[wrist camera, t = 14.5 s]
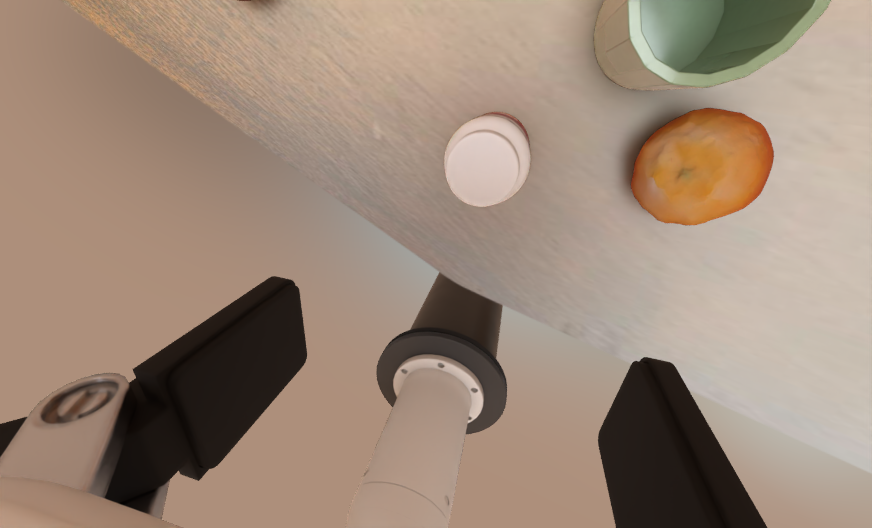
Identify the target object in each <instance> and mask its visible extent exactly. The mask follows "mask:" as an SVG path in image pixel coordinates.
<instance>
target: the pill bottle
mask: <svg viewBox="0 0 872 528" xmlns="http://www.w3.org/2000/svg"><path fill="white" fill-rule="evenodd" d="M530 162H531V154H530V144H529V138H528V134H527V132H526V130H525V128H524V126H523V125H522V124H521V123H520V122H519V121H518V120H517V119H516V118H515V117H513V116H511V115H509V114H506V113H502V112H491V113H487V114H484V115H482V116H479V117H477V118H474V119H472V120H470V121H468V122H466V123H465V124H463V125H462V126H461V127H460V128H459V129H458V130H457V131H456V132H455V133H454V134H453V136H452V137H451V139H450V141H449V143H448V145H447V148H446V151H445V156H444V168H445V174H446V178H447V182H448V185H449V187H450V189H451V190H452V192H453V193H454V194H455V195H456V196H457V197H458V198H459V199H460V200H461V201H463V202H465V203H467V204H469V205H472V206H478V207H485V206H491V205H494V204H498V203H501V202H504V201H505V200H507V199H509V198H511V197H512V196H513V195H514V194H515V193H516V192H517V191H518V190H519V189H520V188H521V187H522V185H523V184H524V182H525V180H526V178H527V176H528V173H529V169H530Z"/></svg>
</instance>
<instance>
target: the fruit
mask: <svg viewBox="0 0 872 528" xmlns="http://www.w3.org/2000/svg"><path fill="white" fill-rule="evenodd" d="M773 157H774V151H773V147H772V143H771V140H770V137H769V135H768V133H767V131H766V129H765V127H764V126H763V125H762V124H761V123H759V122H757V121H755V120H753V119H751V118H749V117H748V116H746V115H745V114H742V113H738V112H731V111H726V110H721V109H714V108H704V109H700V110H693V111H690V112H688V113H687V114H685V115H682V116H680V117H678V118H676V119H674V120H672V121H671V122H669V123H668V124H666V125H665V126H663V127H662V128H660V129H658V130H657V131H656V132H655V133H654V134H653V135H651V136H650V137H649V139H648V140H647V141H646V143H645V144H644V145H643V147H642V149H641V151H640V153H639V155H638V157H637V159H636V161H635V164H634V173H633V177H632V181H631V189H632V192H633V194H634V197H635V198H636V199H637V200H638V202H639V203H640V205H641V206H642V207H643V208H644V209H645V210H647V211H648V212H649V213H650V214H651V215H653V216H654V217H655V218H656V219H657V220H659V221H661V222H664V223H677V224H682V225H697V224H701V223H705V222H707V221H710V220H713V219H716V218H719V217H722V216H726V215H729V214H731V213H734V212H736V211H739V210H741V209H743V208H745V207H746V206H747V205H749V204H750V203H751V202H752V201H753V200H755V199H756V198H757V197H758V196H759V194H760V193H761V192H762V190H763V188H764V185H765V183H766V181H767V179H768V176H769V174H770V171H771V168H772V164H773Z"/></svg>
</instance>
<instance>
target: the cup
mask: <svg viewBox="0 0 872 528" xmlns="http://www.w3.org/2000/svg"><path fill="white" fill-rule="evenodd" d="M830 1H831V0H604V2H603V4H602V7H601V9H600V11H599V14H598V17H597V21H596V25H595V31H594V49H595V55H596V58H597V61H598V64H599V66H600V68H601V69H602V71H603V72H604V74H605V75H606V76H607V77H608V78H609V79H610V80H612V81H613V82H614V83H616V84H618V85H620V86H622V87H625V88H628V89H634V90H648V91H650V90H670V89H689V88H707V87H711V86H714V85H718V84H722V83H725V82H729V81H732V80H736V79H740V78H743V77H746V76H748V75H750V74H751V73H753V72H755V71H756V70H758V69H759V68H761V67H762V66H764V65H766V64H767V63H769V62H770V61H772V60H774V59H775V58H777V57H778V56H780V55H782V54H783V53H785V52H786V51H787V50H788V49H790V48H791V47H792V46H793V45H794V43H795V42H796V41H797V40H798V39H799V38H800V37H801V36H802V35H803V34H804V33H805V32H806V31H807V30H808V29H809V28H810V26H811V25H812V24H813V23H814V22H815V21H816V20H817V19H818V18H819V17H820V16H821V15H822V14H823V13H824V11H825V10H826V9H827V7H828V5H829V3H830Z"/></svg>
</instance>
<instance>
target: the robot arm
mask: <svg viewBox="0 0 872 528" xmlns="http://www.w3.org/2000/svg"><path fill="white" fill-rule="evenodd" d="M306 359H307V349H306V341H305V334H304V326H303V317H302V309H301V301H300V293H299V288H298V287H297V286H295V283H294V282H293V281H292V280H289V279H285V278H280V277H275V276H274V277H270V278H268V279H267V280H266V281H264V282H262V283H261V284H259V285H258V286H256V287H255V288H253V289H252V290H251V291H249V292H247V293H246V294H244V295H243V296H242V297H240V298H239V299H237V300H236V301H234V302H233V303H231V304H230V305H228V306H227V307H225V308H224V309H222V310H221V311H219V312H218V313H216V314H215V315H213V316H212V317H210V318H209V319H207V320H206V321H204V322H203V323H201V324H200V325H198V326H197V327H195V328H194V329H192V330H191V331H189V332H188V333H186V334H185V335H183V336H182V337H181V338H179V339H177V340H176V341H174V342H173V343H171V344H170V345H168V346H167V347H165V348H164V349H162V350H161V351H159V352H158V353H156V354H155V355H153V356H152V357H150V358H149V359H147V360H146V361H144V362H143V363H141V364H140V365H138V366H137V367H135V368H134V369H133V371H134V374H135V376H136V379H134V380H133V381H131V382H130V383H129V382H128V381H127V379H126V377H125V376H122V375H120V374H116V373H103V374H96V375H91V376H88V377H84V378H81V379H78V380H76V381H74V382H71V383H69V384H66V385H64V386H63V387H61V388H59V389H57V390H56V391H54V392H52V393H51V394H49V395H48V396H47V397H45V398H44V399H43V400H41V401H40V402H39V403H38V404H37V406H36V407H35V408H34V409H33V410H32V411H31V413H30V414H29V416H28V417H24V418H21V419H17V420H13V421H10V422H6V423H2V424H0V528H182V527H179V526H177V525H174V524H172V523H169V522H167V521H164V520H162V515H163V510H164V505H165V501H166V496H167V491H168V487H169V482H170V479H171V478H172V477H173V475H175V474H176V473H177V471H178V470H179V472H180V474H182V475H185V476H188V477H190V478H193V479H195V480H198V481H199V480H200V479H201V478H202V477H203V475H204V474H205V473H206V472H207V471H208V470H209V469H211V468H214V467H216V466H217V465H218V464H219V463H220V462H221V461H222V460H223V459H224V458H225V456H226V455H227V454H228V453H229V452H230V450H231V449H232V448H233V447H234V446H235V445H236V444H237V442H238V441H239V440H240V439H241V438H242V437H243V435H244V434H245V433H246V432H247V431H248V429H249V428H250V427H251V426H252V425H253V424H254V423H255V421H256V420H257V419H258V418H259V417H260V416H261V414H262V413H263V412H264V411H265V410H266V409H267V407H268V406H269V405H270V404H271V403H272V401H273V400H274V399H275V398H276V397H277V396H278V395H279V393H280V392H281V391H282V390H283V389H284V387H285V386H286V385H287V384H288V383H289V382H290V381H291V379H292V378H293V377H294V376H295V375H296V374H297V372H298V371H299V370H300V369H301V368H302V366H303V365H304V363H305V361H306ZM393 387H394V391H395V394H396V396H397V399H396V402H395V404H394V406H393V409H392V411H391V413H390V416H389V418H388V420H387V422H386V425H385V427H384V429H383V432H382V434H381V436H380V438H379V441H378V443H377V445H376V447H375V450H374V452H373V454H372V457H371V459H370V461H369V464H368V466H367V468H366V470H365V473H364V475H363V478H362V480H361V482H360V484H359V486H358V489H357V491H356V493H355V496H354V498H353V501H352V503H351V505H350V508H349V511H348V516H347V521H346V528H448V525H449V520H450V515H451V509H452V504H453V498H454V493H455V488H456V483H457V477H458V472H459V466H460V461H461V456H462V451H463V445H464V440H465V435H466V429H467V424H468V423H469V422H472V421H473V420H474V419H476V418H477V417H478V415H479V414H480V413H481V410H482V408H483V402H484V392H483V388H482V385H481V384H480V382H479V380H478V379H477V377H476V376H475V375H474V374H473V373H472V372H471V371H470V370H469V369H468V368H467V367H465V366H464V365H462V364H461V363H459V362H457V361H455V360H453V359H450V358H447V357H444V356H440V355H433V354H422V355H417V356H414V357H411V358H409V359H407V360H406V361H404V362H403V363H402V364H401V365H400V366H399V368H398V370H397V372H396V373H395V376H394V380H393ZM598 444H599V450H600V454H601V459H602V464H603V468H604V473H605V478H606V482H607V487H608V491H609V496H610V501H611V506H612V510H613V515H614V520H615V524H616V528H767V526H766V524H765V523H764V521H763V519H762V518H761V516H760V514H759V512H758V511H757V509H756V507H755V505H754V504H753V502H752V500H751V498H750V497H749V495H748V493H747V492H746V490H745V488H744V486H743V484H742V483H741V481H740V479H739V477H738V476H737V474H736V472H735V470H734V469H733V467H732V465H731V463H730V462H729V460H728V458H727V457H726V455H725V453H724V451H723V450H722V448H721V446H720V444H719V442H718V441H717V439H716V437H715V435H714V434H713V432H712V430H711V428H710V427H709V425H708V423H707V422H706V420H705V418H704V416H703V415H702V413H701V411H700V410H699V408H698V406H697V404H696V402H695V401H694V399H693V397H692V395H691V394H690V392H689V390H688V388H687V387H686V385H685V383H684V381H683V380H682V378H681V376H680V374H679V373H678V371H677V369H676V367H675V366H674V365H673V364H672V363H670V362H666V361H661V360H657V359H652V358H647V357H644V358H642V359H641V360H640V362H638V361H634V362H633V363H632V365H631V366H630V369H629V371H628V373H627V375H626V377H625V379H624V381H623V383H622V385H621V387H620V390H619V392H618V393H617V396H616V398H615V400H614V402H613V404H612V406H611V408H610V410H609V412H608V414H607V416H606V419H605V420H604V423H603V425H602V427H601V429H600V431H599V436H598Z"/></svg>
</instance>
